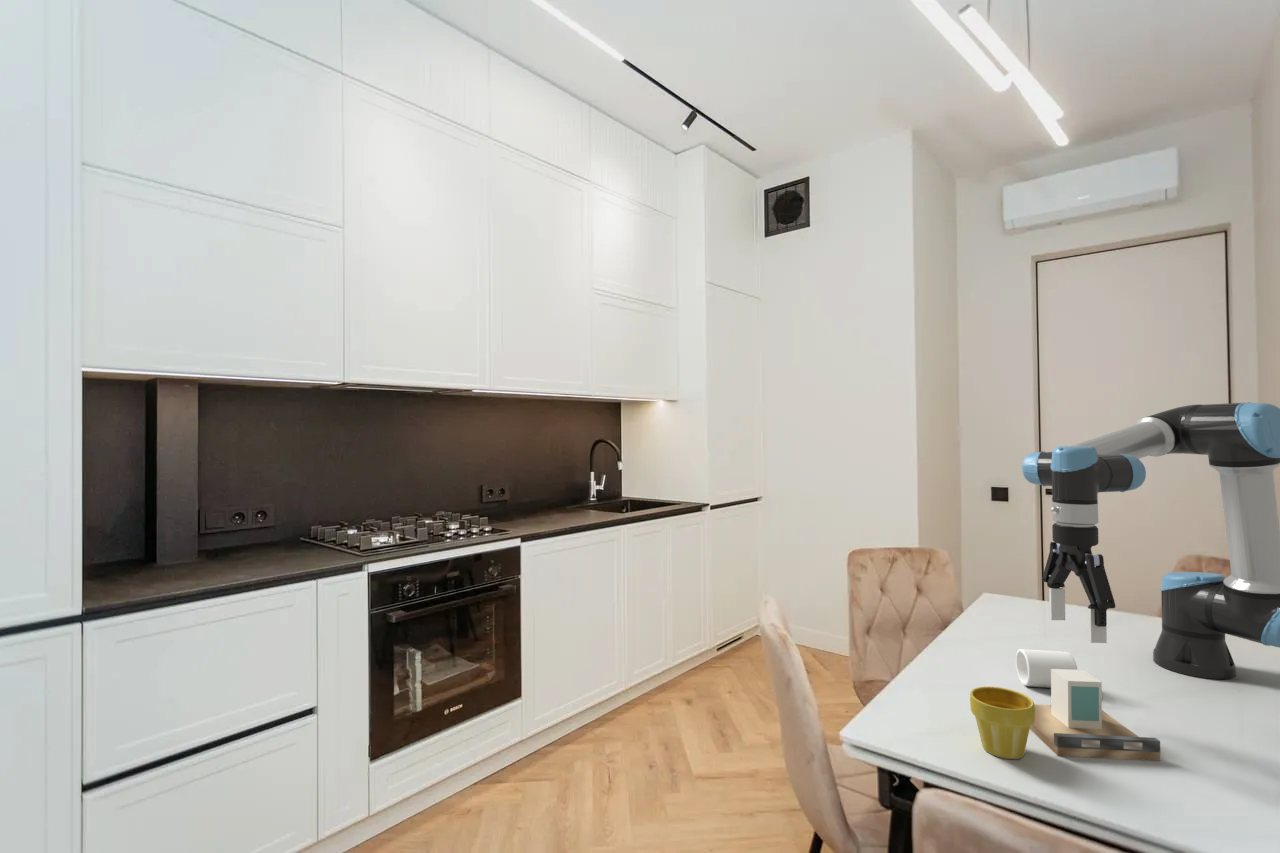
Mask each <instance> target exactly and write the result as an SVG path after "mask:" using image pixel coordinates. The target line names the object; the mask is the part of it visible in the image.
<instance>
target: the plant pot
mask: <svg viewBox="0 0 1280 853" xmlns="http://www.w3.org/2000/svg"><path fill="white" fill-rule="evenodd" d="M969 702H970V703H969V705H970V711H971V714H972V715H973V716H974V717H975V720H976V725H977V729H978V733H979V736H980V741H981V745H982V748H983V749H984V750H985V751H986V752H987V753H988V754H990V755H992V756H995V757H997V758H1001V759H1007V760H1019V759H1021V758H1023V757H1024V756H1025V753H1026V748H1027V742H1028V739H1029V733H1030V731H1031V730H1030V726H1031V725H1032V724H1033V723H1034V721H1035V705H1034V704H1035V703H1034V701H1033V699H1032V698H1031V697H1029V696H1028V695H1027V694H1024V693H1021V692H1019V691H1016V690H1014V689H1009V688H1004V687H997V686H979V687H975V688H973V689H972V690H970V692H969Z"/></svg>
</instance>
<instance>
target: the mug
mask: <svg viewBox="0 0 1280 853" xmlns="http://www.w3.org/2000/svg"><path fill="white" fill-rule="evenodd" d="M1051 669H1069V670H1079V668H1078V665H1077V662H1076V660H1075V658H1074V657H1073V655H1072V654H1071V653H1070V652H1069V651H1059V650H1043V649H1027V648H1019V649H1018V650H1017V651H1016V654H1015V670H1016V674H1017V677H1018V679H1019V682H1020V683H1021V684H1022V685H1023V686H1025V687H1032V688H1033V687H1034V688H1036V687H1037V688H1049V689H1051Z"/></svg>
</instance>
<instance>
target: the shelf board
mask: <svg viewBox="0 0 1280 853" xmlns="http://www.w3.org/2000/svg"><path fill="white" fill-rule="evenodd" d="M1034 705H1035V721H1034V723H1033V724H1032V725H1031V726H1030V730H1029V731H1031V733H1033V734H1034V735H1035V736H1036V737H1037V738H1039V739H1040V741H1041V742H1043V743H1044V744H1045V745H1046V746H1047V747H1048V748H1049V749H1050V750H1051V751H1052V752H1053V754H1055V755H1056V756H1059V757H1074V758H1075V757H1076V758H1077V757H1078V758H1079V757H1081V758H1095V759H1096V758H1098V759H1118V760H1119V759H1120V760H1132V761H1133V760H1134V761H1135V760H1136V761H1154V762H1155V761H1156V762H1161V740H1159V739H1158V738H1157V737H1143V736H1138V735H1137V734H1135V733H1134V732H1133V731H1131V730H1130V729H1128V727H1126V726H1124V725H1123V724H1122V723H1120V722H1119V721H1118V720H1117V719H1115V718H1114V717H1112V716H1111V715H1110V714H1108V713H1107V712H1105V711H1104V710H1103V709H1102V729H1085V728H1068V727H1067V726H1066V725H1064V724H1063V723H1062V722H1061V721H1060V720H1059V719H1057V718H1056V717H1055V716H1054V715H1053V714H1051V704H1035V703H1034Z"/></svg>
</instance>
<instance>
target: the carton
mask: <svg viewBox="0 0 1280 853" xmlns="http://www.w3.org/2000/svg"><path fill="white" fill-rule="evenodd" d="M1102 685H1103V684H1102V681H1100V680H1099V679H1098V678H1096V677H1094V676H1093V675H1091V674H1089V673H1088V672H1087V671H1085V670H1084V669H1078V670H1069V669H1051V688H1050V694H1051V695H1050V696H1051V697H1050V702H1051V704H1050V705H1051V714H1053V715H1054V716H1055V717H1056V718H1057V719H1059V720H1060V721H1061V722H1062V723H1063V724H1064V725H1066V726H1067V727H1068V728H1085V729H1102V710H1103V706H1102V703H1103V700H1102V699H1103V697H1102V696H1103V695H1102V687H1103V686H1102Z"/></svg>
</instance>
